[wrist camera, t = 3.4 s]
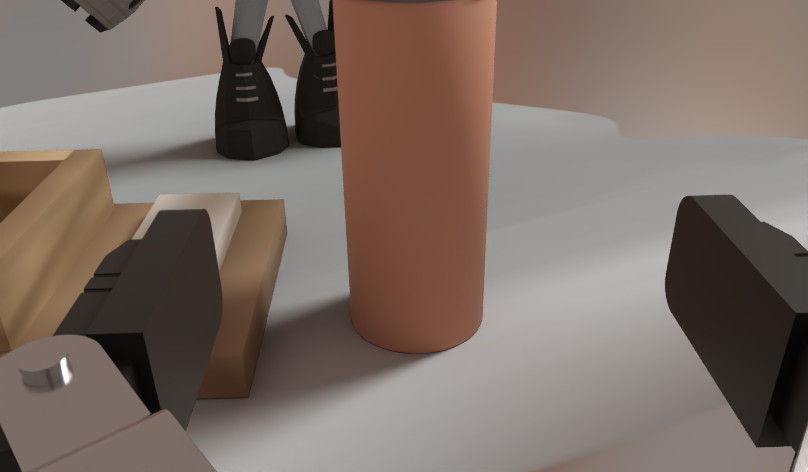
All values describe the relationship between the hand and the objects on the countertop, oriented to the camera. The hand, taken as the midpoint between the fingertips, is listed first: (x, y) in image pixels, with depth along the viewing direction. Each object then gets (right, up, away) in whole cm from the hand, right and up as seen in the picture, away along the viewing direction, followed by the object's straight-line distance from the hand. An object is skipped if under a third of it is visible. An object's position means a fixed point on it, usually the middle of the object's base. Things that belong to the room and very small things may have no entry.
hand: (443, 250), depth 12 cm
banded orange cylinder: (0, -2, +12) cm, 12 cm away
